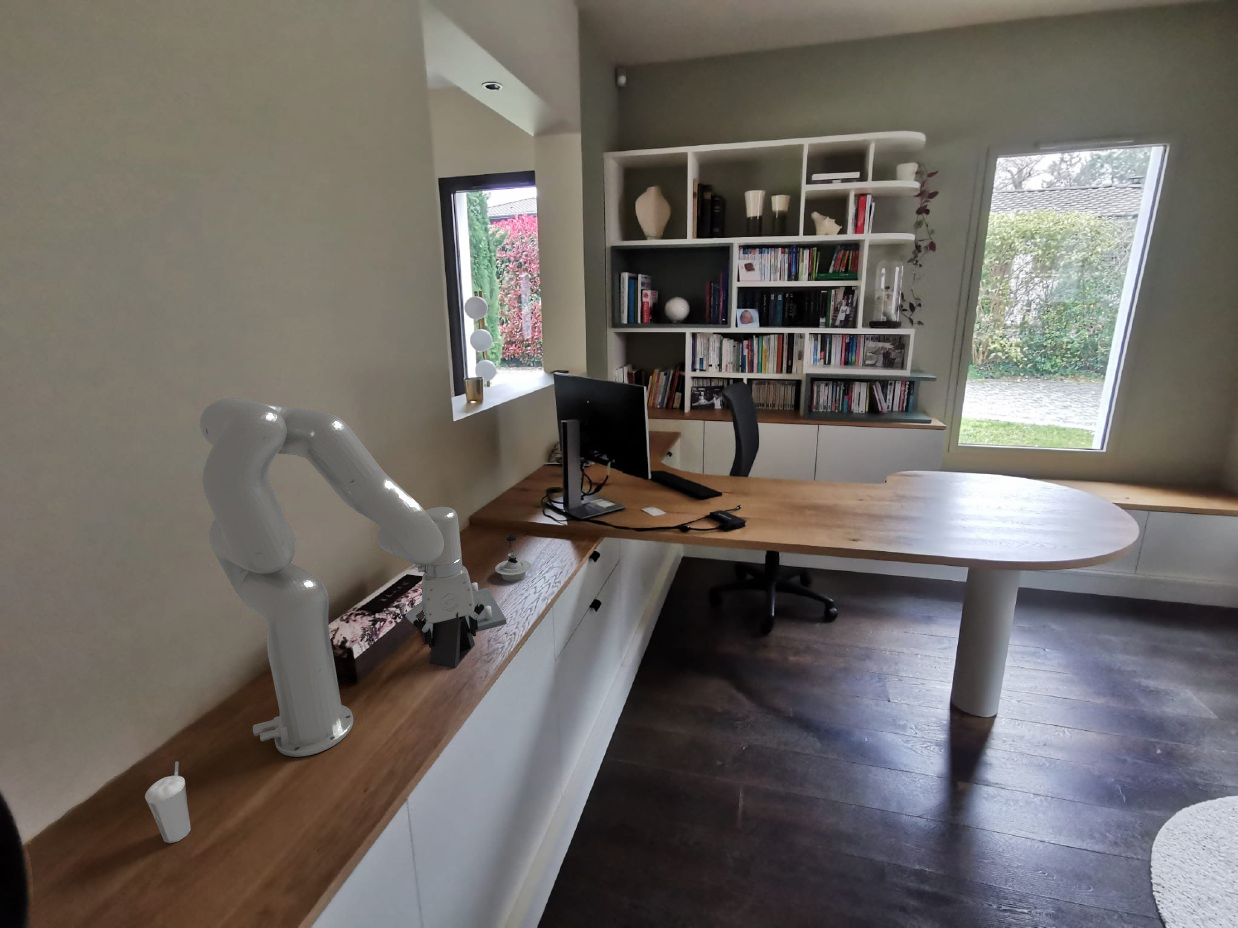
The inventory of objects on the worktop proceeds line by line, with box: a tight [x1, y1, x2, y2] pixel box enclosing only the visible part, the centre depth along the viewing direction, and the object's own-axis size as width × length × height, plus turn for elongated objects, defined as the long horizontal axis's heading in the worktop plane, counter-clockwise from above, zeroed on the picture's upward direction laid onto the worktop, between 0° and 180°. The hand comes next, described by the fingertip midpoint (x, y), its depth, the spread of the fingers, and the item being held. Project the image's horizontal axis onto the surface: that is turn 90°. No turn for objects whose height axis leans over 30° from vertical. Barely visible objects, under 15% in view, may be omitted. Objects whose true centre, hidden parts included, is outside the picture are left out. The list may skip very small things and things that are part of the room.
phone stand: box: [429, 612, 476, 669], centre depth 128 cm, size 9×6×12 cm, turn 166°
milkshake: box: [144, 761, 192, 844], centre depth 86 cm, size 4×5×10 cm
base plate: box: [430, 582, 508, 635], centre depth 145 cm, size 18×18×4 cm
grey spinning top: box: [494, 534, 532, 582], centre depth 164 cm, size 12×10×10 cm
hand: (451, 638), depth 129 cm, fingers open, 8 cm apart
